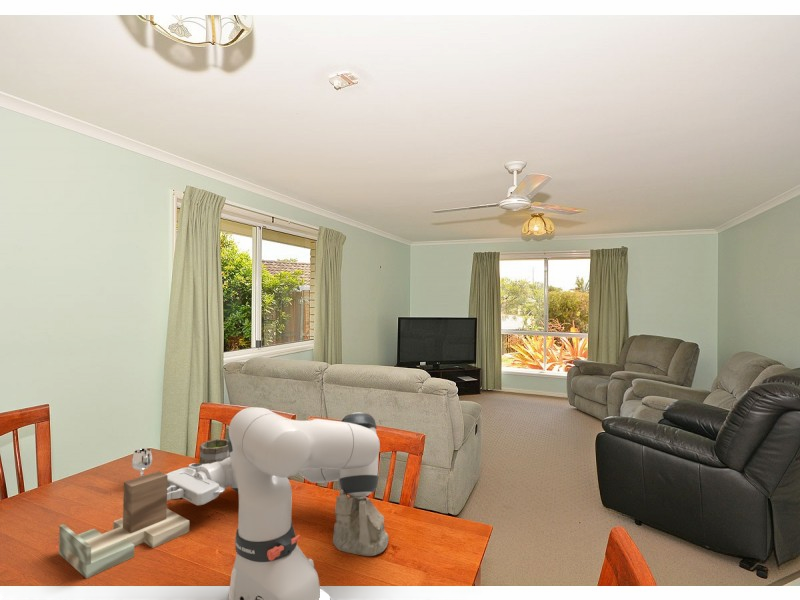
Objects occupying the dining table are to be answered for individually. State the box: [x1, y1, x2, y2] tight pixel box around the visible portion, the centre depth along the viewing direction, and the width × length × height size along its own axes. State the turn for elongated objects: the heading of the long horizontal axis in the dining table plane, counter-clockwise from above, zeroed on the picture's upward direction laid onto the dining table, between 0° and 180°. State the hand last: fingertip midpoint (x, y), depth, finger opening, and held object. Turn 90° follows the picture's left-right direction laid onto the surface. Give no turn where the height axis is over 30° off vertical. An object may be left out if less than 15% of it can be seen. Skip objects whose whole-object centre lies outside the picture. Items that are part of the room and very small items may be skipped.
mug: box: [198, 438, 230, 464], centre depth 153 cm, size 16×11×12 cm
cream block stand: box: [58, 508, 190, 580], centre depth 110 cm, size 16×24×7 cm, turn 146°
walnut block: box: [122, 470, 168, 533], centre depth 114 cm, size 4×9×12 cm, turn 146°
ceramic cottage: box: [332, 488, 389, 557], centre depth 115 cm, size 16×16×15 cm
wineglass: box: [131, 447, 153, 477], centre depth 143 cm, size 6×6×12 cm
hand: (162, 496), depth 118 cm, fingers closed, pressing on walnut block
